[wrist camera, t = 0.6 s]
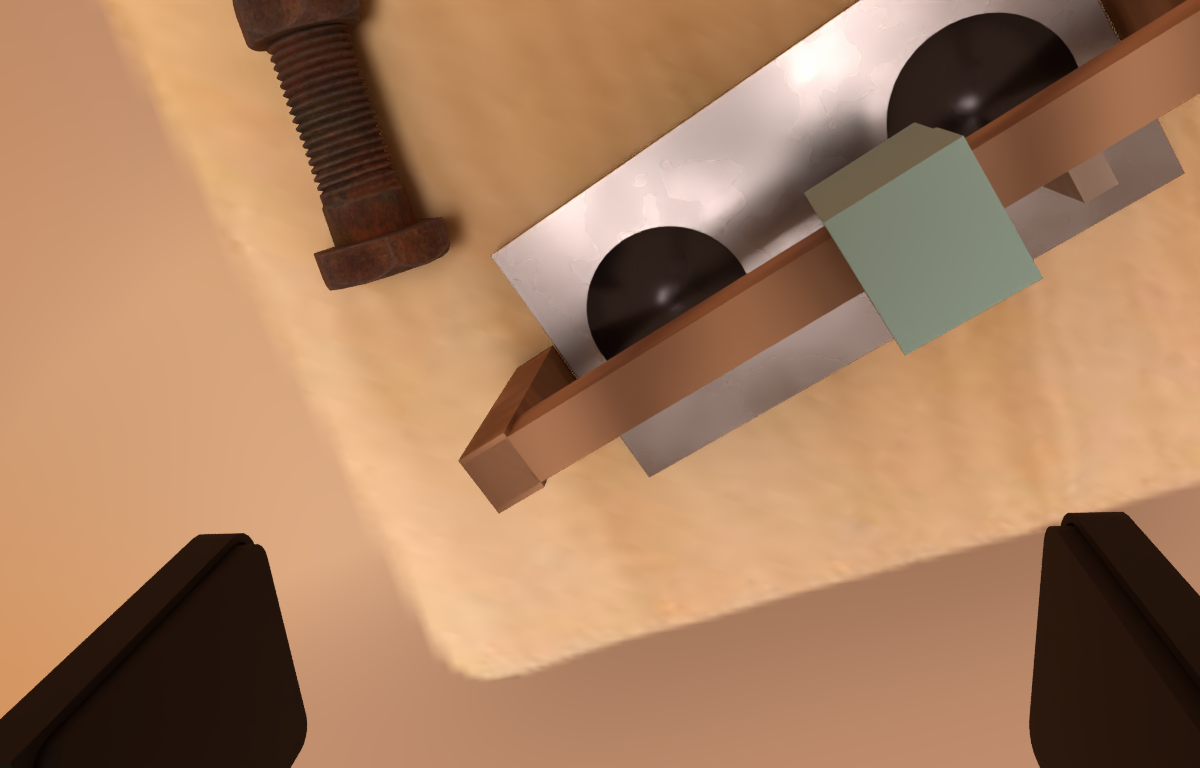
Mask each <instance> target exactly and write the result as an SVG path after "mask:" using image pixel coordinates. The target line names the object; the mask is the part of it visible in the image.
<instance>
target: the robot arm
mask: <svg viewBox="0 0 1200 768" xmlns="http://www.w3.org/2000/svg"><path fill="white" fill-rule="evenodd" d="M1029 729H1030V738H1031V744H1032V748H1033V752H1034V754H1035V757H1036V759H1037V762H1038V764H1039V766H1040V768H1200V596H1199V595H1198V593H1197V592H1196V591H1195V590H1194V589H1193V588H1192V587H1191V586H1190V584H1189V583H1188V582H1187V581H1186V580H1185V579H1184V578H1183V577H1182V576H1181V574H1180V573H1179V572H1178V571H1177V570H1176V569H1175V568H1174V566H1173V565H1172V564H1171V563H1170V562H1169V561H1168V560H1167V559H1166V558H1165V556H1164V555H1163V554H1162V553H1161V552H1160V551H1159V550H1158V548H1157V547H1156V546H1155V545H1154V544H1153V543H1152V542H1151V541H1150V539H1149V538H1148V537H1147V536H1146V535H1145V534H1144V533H1143V532H1142V531H1141V529H1140V528H1139V527H1138V526H1137V525H1136V524H1135V523H1134V521H1133V520H1132V519H1131V518H1130V517H1129V516H1128V515H1127V514H1125V513H1124V512H1090V513H1067V514H1066V515H1065V516H1064V518H1063V520H1062V523H1061V526H1049V527H1048V528H1047V530H1046V533H1045V537H1044V547H1043V558H1042V570H1041V583H1040V595H1039V607H1038V620H1037V632H1036V645H1035V658H1034V669H1033V682H1032V693H1031V706H1030V720H1029ZM306 732H307V718H306V713H305V708H304V705H303V700H302V697H301V693H300V688H299V684H298V680H297V676H296V672H295V668H294V664H293V660H292V655H291V651H290V648H289V643H288V639H287V635H286V631H285V627H284V623H283V619H282V615H281V611H280V607H279V602H278V598H277V594H276V590H275V586H274V582H273V578H272V574H271V570H270V566H269V562H268V558H267V555H266V552H265V550H264V548H263V547H262V546H260V545H258V544H254V542H253V541H252V540H251V538H250V537H249V536H248V535H246V534H244V533H236V534H203V535H198V536H196V537H195V538H193V539H192V540H191V541H190V542H189V543H188V544H187V545H186V546H185V547H184V548H182V549H181V550H180V551H179V552H178V553H177V554H176V555H175V556H174V557H173V558H172V559H171V560H170V561H169V562H168V563H166V564H165V565H164V566H163V567H162V568H161V569H160V570H159V571H158V572H157V573H156V574H155V575H154V576H153V577H152V578H151V579H149V580H148V581H147V582H146V583H145V584H144V585H143V586H142V587H141V588H140V589H139V590H138V591H137V592H136V593H134V594H133V595H132V596H131V597H130V598H129V599H128V600H127V601H126V602H125V603H124V604H123V605H122V606H121V607H120V608H118V609H117V610H116V611H115V612H114V613H113V614H112V615H111V616H110V617H109V618H108V619H107V620H106V621H105V622H104V623H102V625H100V626H99V627H98V628H97V629H96V630H95V631H94V632H93V633H92V634H91V635H90V636H89V637H88V638H86V639H85V641H83V642H82V643H81V644H80V645H79V646H78V647H77V648H76V649H75V650H74V651H73V652H72V653H70V655H68V656H67V657H66V658H65V659H64V660H63V661H62V662H61V663H60V664H59V665H58V666H57V667H56V668H54V669H53V670H52V671H51V672H50V673H49V674H48V675H47V676H46V677H45V678H44V679H43V680H42V681H41V682H40V683H39V684H37V685H36V686H35V687H34V688H33V689H32V690H31V691H30V692H29V693H28V694H27V695H26V696H25V697H24V698H22V699H21V700H20V701H19V702H18V703H17V704H16V705H15V706H14V707H13V708H12V709H11V710H10V711H9V712H8V713H6V714H5V715H4V716H3V717H2V718H1V719H0V768H291V766H292V764H293V763H294V761H295V759H296V758H297V756H298V754H299V753H300V751H301V749H302V747H303V745H304V741H305V738H306Z"/></svg>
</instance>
